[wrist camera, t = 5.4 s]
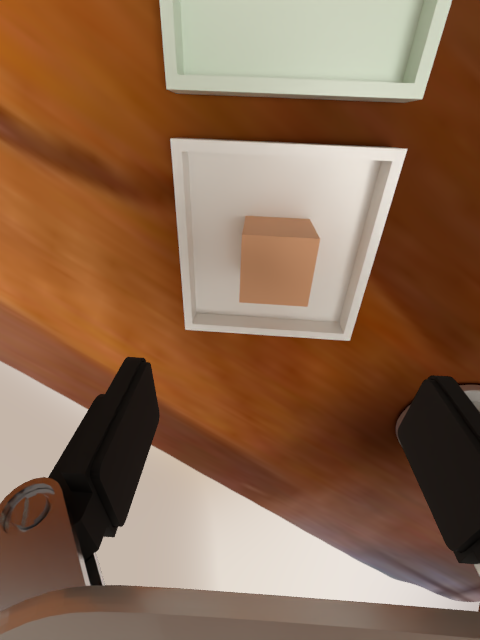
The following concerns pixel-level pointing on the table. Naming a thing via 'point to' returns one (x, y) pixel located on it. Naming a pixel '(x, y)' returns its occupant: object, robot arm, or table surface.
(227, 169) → the white tray
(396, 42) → the green tray
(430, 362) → the table surface
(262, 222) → the brown cube
